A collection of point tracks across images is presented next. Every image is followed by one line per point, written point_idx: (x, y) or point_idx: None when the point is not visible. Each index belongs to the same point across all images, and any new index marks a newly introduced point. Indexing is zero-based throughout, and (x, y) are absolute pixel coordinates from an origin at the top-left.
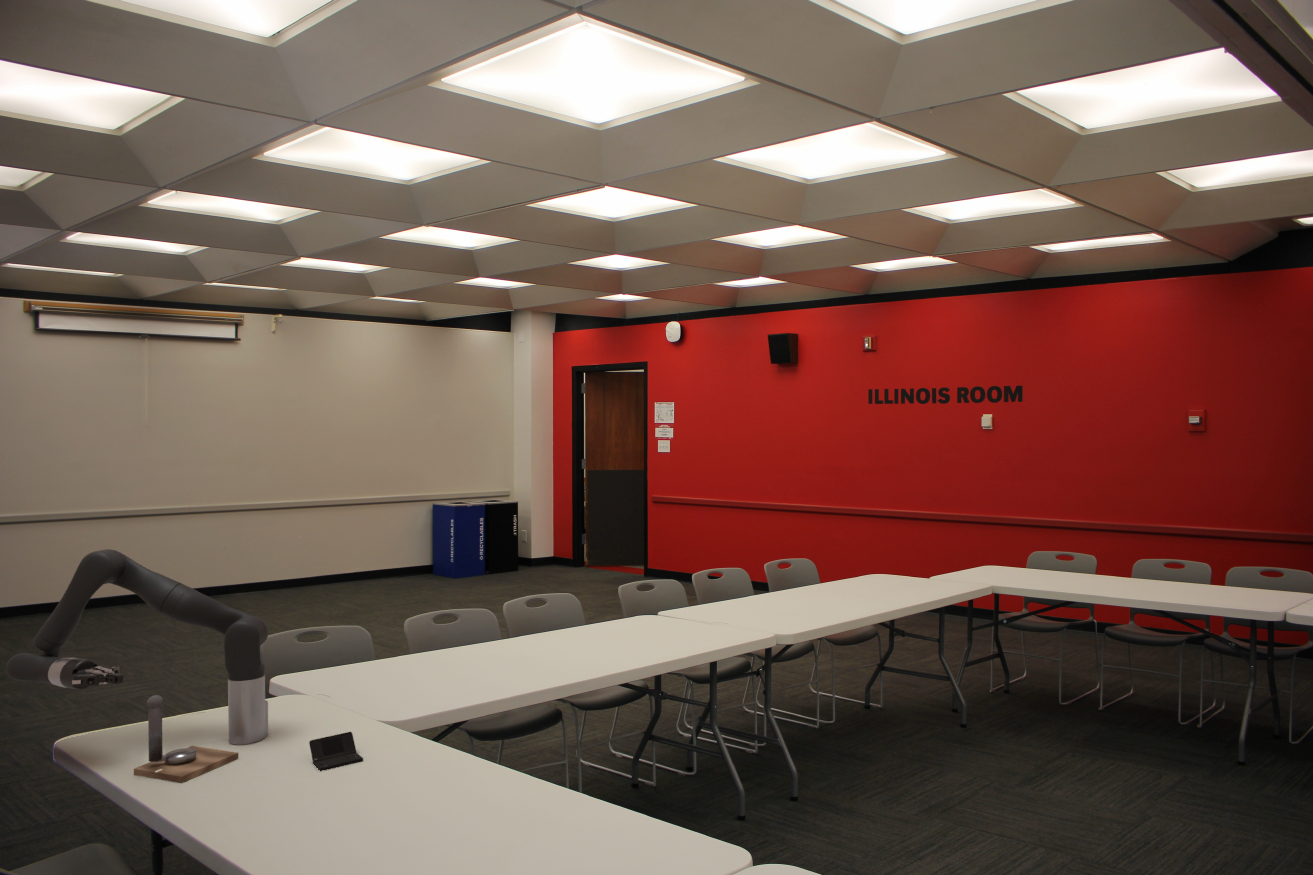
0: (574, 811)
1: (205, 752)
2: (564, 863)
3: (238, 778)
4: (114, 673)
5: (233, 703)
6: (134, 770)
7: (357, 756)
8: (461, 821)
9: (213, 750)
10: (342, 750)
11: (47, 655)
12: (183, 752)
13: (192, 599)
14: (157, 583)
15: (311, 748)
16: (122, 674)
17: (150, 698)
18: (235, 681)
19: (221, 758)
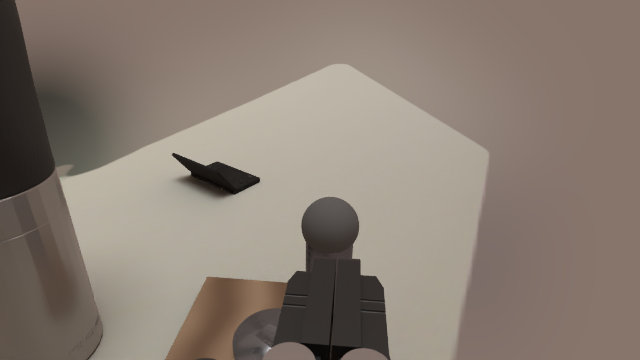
0: (308, 85)
1: (205, 339)
2: (374, 82)
3: None
4: (313, 317)
5: (65, 251)
6: None
7: (211, 166)
8: (345, 104)
9: (189, 331)
10: (199, 173)
11: None
12: (269, 334)
13: None
14: None
15: (223, 178)
16: (314, 257)
17: (350, 209)
18: (48, 179)
19: (246, 285)
